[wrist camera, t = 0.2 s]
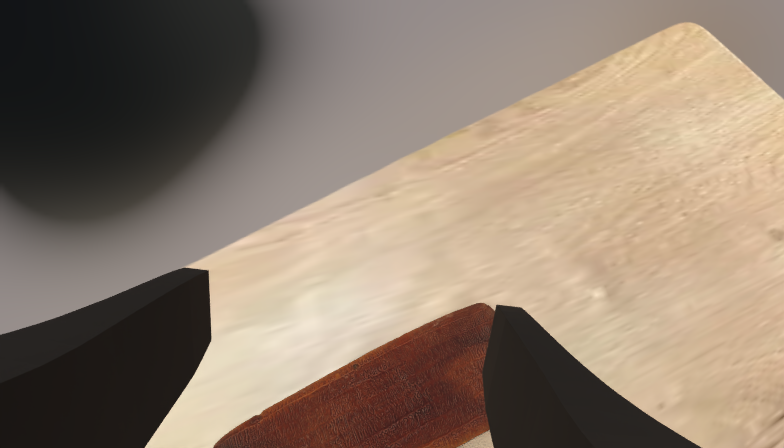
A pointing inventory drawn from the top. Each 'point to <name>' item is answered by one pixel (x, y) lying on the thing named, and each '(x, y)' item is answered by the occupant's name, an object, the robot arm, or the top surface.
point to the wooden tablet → (388, 395)
